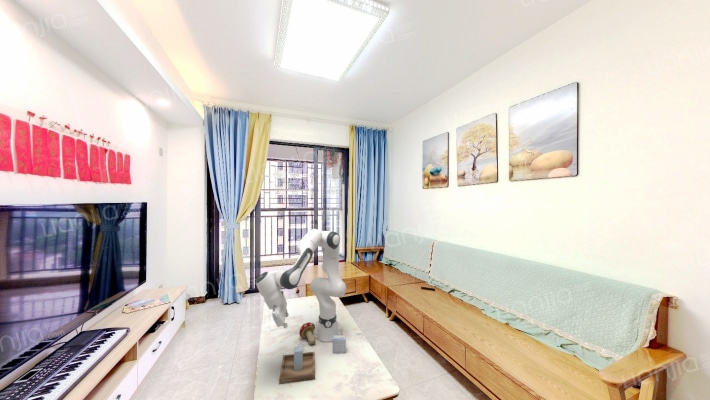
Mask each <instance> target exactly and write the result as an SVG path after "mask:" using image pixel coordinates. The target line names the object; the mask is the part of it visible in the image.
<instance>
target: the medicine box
mask: <svg viewBox="0 0 710 400" xmlns="http://www.w3.org/2000/svg"><path fill="white" fill-rule="evenodd" d="M346 340H347V336H346V335H342V334H341V335H334V336H333V341H332V354H346V351H347V348H346V344H347V341H346Z"/></svg>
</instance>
